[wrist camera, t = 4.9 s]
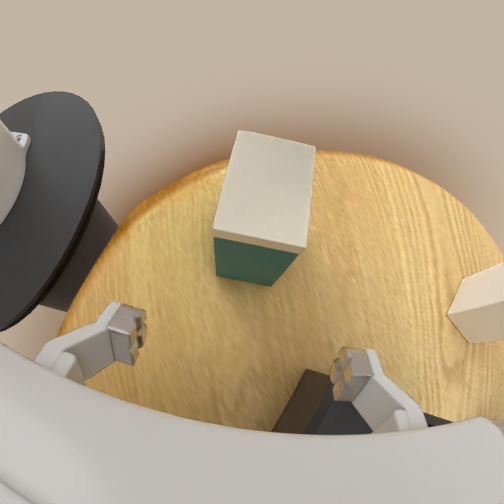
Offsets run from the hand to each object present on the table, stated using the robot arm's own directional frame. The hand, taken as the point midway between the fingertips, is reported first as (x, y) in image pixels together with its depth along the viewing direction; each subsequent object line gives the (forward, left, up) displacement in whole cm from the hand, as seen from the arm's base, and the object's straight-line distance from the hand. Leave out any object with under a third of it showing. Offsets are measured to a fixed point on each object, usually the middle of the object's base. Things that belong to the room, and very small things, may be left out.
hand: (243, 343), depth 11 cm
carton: (-3, +8, -13) cm, 16 cm away
